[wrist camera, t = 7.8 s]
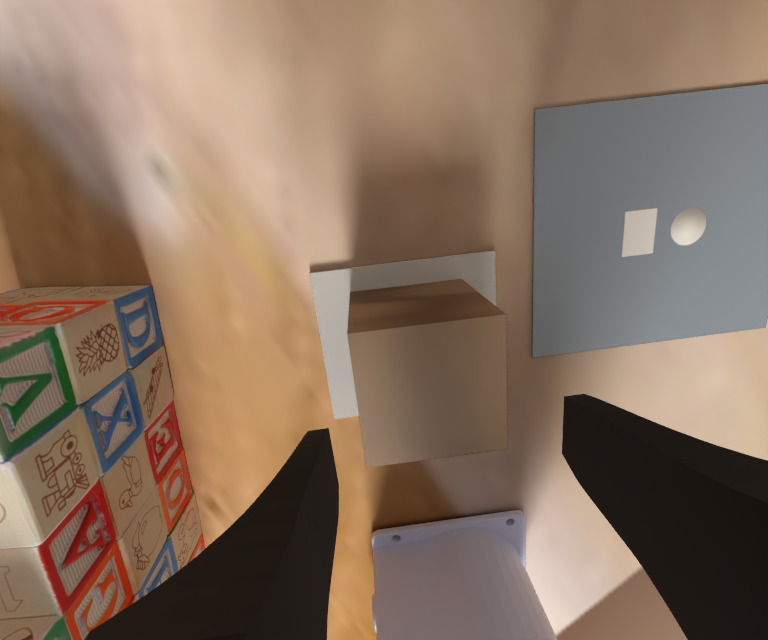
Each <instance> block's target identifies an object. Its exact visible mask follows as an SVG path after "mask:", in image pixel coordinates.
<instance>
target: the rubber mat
mask: <svg viewBox="0 0 768 640" xmlns="http://www.w3.org/2000/svg"><path fill="white" fill-rule="evenodd" d="M309 275H310V281H311V287H312V293H313V299H314V304H315V310H316V316H317V322H318V328H319V334H320V339H321V345H322V351H323V357H324V363H325V369H326V374H327V380H328V386H329V392H330V398H331V403H332V409H333V415H334V419H339V418H347V417H355V416H359V413H358V406H357V399H356V392H355V385H354V378H353V371H352V364H351V357H350V350H349V343H348V336H347V329H348V314H349V298H350V292H354V291H363V290H371V289H380V288H388V287H396V286H405V285H413V284H422V283H430V282H439V281H447V280H455V279H462V280H464V281H465V282H466V283H467V284H469V285H470V286H471V287H472V288H474V289H475V290H476V291H478V292H479V293H480V294H481V295H483V296H484V297H485V298H486V299H488V300H489V301H490V302H491V303H493V304H494V305H495V306H496V263H495V251H494V250H492V251H483V252H475V253H467V254H459V255H450V256H442V257H434V258H426V259H417V260H409V261H401V262H392V263H384V264H376V265H368V266H359V267H351V268H343V269H335V270H326V271H318V272H310V273H309Z"/></svg>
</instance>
